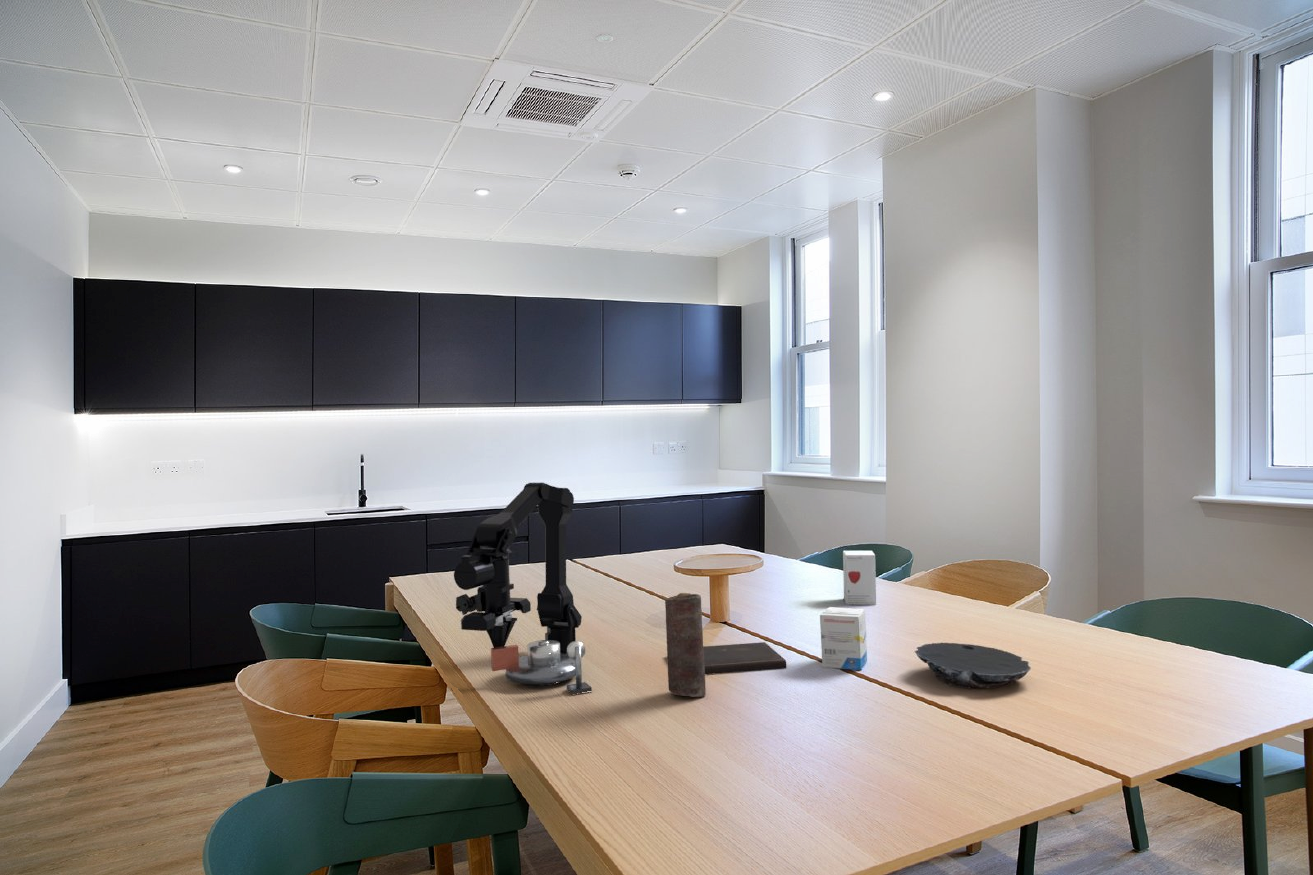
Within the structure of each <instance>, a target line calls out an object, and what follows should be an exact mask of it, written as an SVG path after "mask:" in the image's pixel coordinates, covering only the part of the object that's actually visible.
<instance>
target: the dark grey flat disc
mask: <svg viewBox="0 0 1313 875" xmlns="http://www.w3.org/2000/svg"><path fill="white" fill-rule="evenodd" d="M913 652H914V653H915V654H916V656H917V657H918V659H919V660H921V661H922V662H923V663H925V664H927V665H928V666H927V667H928V669H929V670H930V671H931V672H932V673H933V674H935V676H936V677H937V678H938V679H940V680H939V681H941V682H942V683H944V684H946V685H950V686H954V687H960V688H962V689H963V688H965V689H973V688H974V690H984V691H985V690H988V689H987V688H989V689H991V688H993V687H994V688H999V687H1001V686H1003V685H1007V684H1008V683H1009V682H1016V681H1018V680H1019V681H1020V680H1021V679H1022V678H1024V677H1025V676H1026V675H1027V674H1028V672H1030V670H1032V668H1031V666H1030V662H1029V661H1027V660H1023V657H1022V656H1019V655H1017V654H1014V653H1012V652H1008V651H1006V650H1003V649H998V648H996V647H989V646H988V647H987V646H983V645H975V644H970V643H969V644H968V643H967V644H966V643H955V642H936V643H935V642H933V643H926V644H923V645H921V646H917V647H916V650H914V651H913Z"/></svg>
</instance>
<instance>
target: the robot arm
mask: <svg viewBox="0 0 1313 875" xmlns="http://www.w3.org/2000/svg"><path fill="white" fill-rule="evenodd" d="M574 501H575V498H574V494H573V492H571V491H570V489H569V488H567V487H558V486H554V485H550V484H548V483H545V482H528V483H526V484H524V486H523V489H522V490H521V491H520V492H519V494H517V496H515V497H514V498H513V499H512V500H511V502H509V504H507V506H506V507H505V508H504V509H503V510H502V511H501V512H499V513H498V514H495V515H492V516H490V517H487V518H486V519H484V520H483V521H482V522H480V523H478V525H477V527H476V529H475V532H474V535H473V536H472V540H471V543H470V544H469V547H468V550H467V552H466V554H465V555H462V556H461V558H460V559H461V562H459V563H457V566H455V569H454V572H453V581H454V582H455V584H456V586H457V587H458V588H460V589H461V590H464V591H469V590H472V589H475V588H477V590H476V591H477V593H476V594H475V595H472V596H469V595H468V594H466V593H464V594H462V595H459V596H457V597H456V599H455V609H456V610H457V611H458V612H461V614H462V615H463V617H462V618H461V619H460V626H461V627H460V629H461V630H463V631H478V632H486V633H487V635H488V637H489V640H490V641H491V644H492V648H496V647H503V646H506V644H507V641H508V639H509V637H510V634H511V632H512V630H513V628H514V626H515V624H516V622H517V621H518V617H513V616H512V614H511V613H513V612H515V611H520V612H521V613H522V614H527V613H529V612H531V610H532V608H531V602H530V600H529V599H528V598H526V597H525V598H523V597H511V590H514V589H515V588H514V587H515V586H514V583H510V582H511V581H510V560H509V559H510V558H512V557H514V556H515V553H514V552H513V551H512V550H511V549H510V547H511V545H512V544H513V542H514V541H515V540H516V538H517V536H518V531H517V530H518V528H519V526H520V525H521V524H522V523H523V522H524V521H525V520H526V519H527V518H528V517H529V515H530V514H531V513H532V512H533V511H534V510H535V509H536V507H537V510H538V515H539V516H540V519H541V520H542V522H543V524H544V526H545V528H544V529H545V532H544V533H545V535H544V536H545V537H544V538H545V539H544V541H545V542H544V543H545V546H544V548H545V549H544V550H545V553H544V554H545V555H544V556H545V560H544V561H545V562H544V563H545V565H544V566H545V584H544V585H545V586H544V587H543V589H542V591H541V592H538V593H537V596H536V598H537V601H536V602H537V605H536V606H537V607H536V611H537V615H538V618H539V622H540V626H541V627H542V628H543V627H544V628H545V627H546V632H545V633H544V640H554V641H558V642H560V653H562V654H567V647H568V645H569V644H570V643H571V642H573V641H577V640H576V638H577V637H576V629H577V628H579V627H580V626H581V624H582V618H583V616H582V615H581V613H580V612H579V610H578V609H577V608H576V606H575V603H574V595H573V593H572V591H571V590H570V588H569V587H568V585H567V523H568V521H569V520H570V518H571V516H572V514H573V509H574V507H573V506H574Z"/></svg>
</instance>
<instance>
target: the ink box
mask: <svg viewBox="0 0 1313 875" xmlns="http://www.w3.org/2000/svg"><path fill="white" fill-rule="evenodd" d="M866 618H867V617H866V609H865V608H864V609H861V608H848V607H834V606H829V607H828V608H826V609H825V610H824V611H822V613H820V615H819V624H820V640H821V642H820V644H821V648H820V649H821V663H822V664H821V665H822V668H831V669H839V670H840V669H841V670H842V669H843V670H851V671H852V670H853V671H854V670H855V671H858V670H859V671H862V670H863V668H864V667H865V665H866V664H867V661H868V652H867V651H868V650H867V648H868V647H867V621H866V620H867V619H866Z"/></svg>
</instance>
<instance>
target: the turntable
mask: <svg viewBox="0 0 1313 875" xmlns="http://www.w3.org/2000/svg"><path fill="white" fill-rule="evenodd" d="M571 663H574V664H575V660H574V659H572V658H570V657H569V656H568V654H562V653H560V663H559V664H557V665H555V666H550V667H531V666H529V665H528V660H527V655H523V656H522V655H521V656H519V646H518V645H517V644H513V645H505V646H503V647H496V648H494V647H491V648H490V665H491V671H492V672H496V671H505V677H506V679H507V680H510V681H511V682H514V683H519V684H523V683H524V685H526V684H545V683H554V682H559V681H562V682H564V681H567V680H570V679H573V678H576V668H575V667H573V666H572V665H571Z"/></svg>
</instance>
